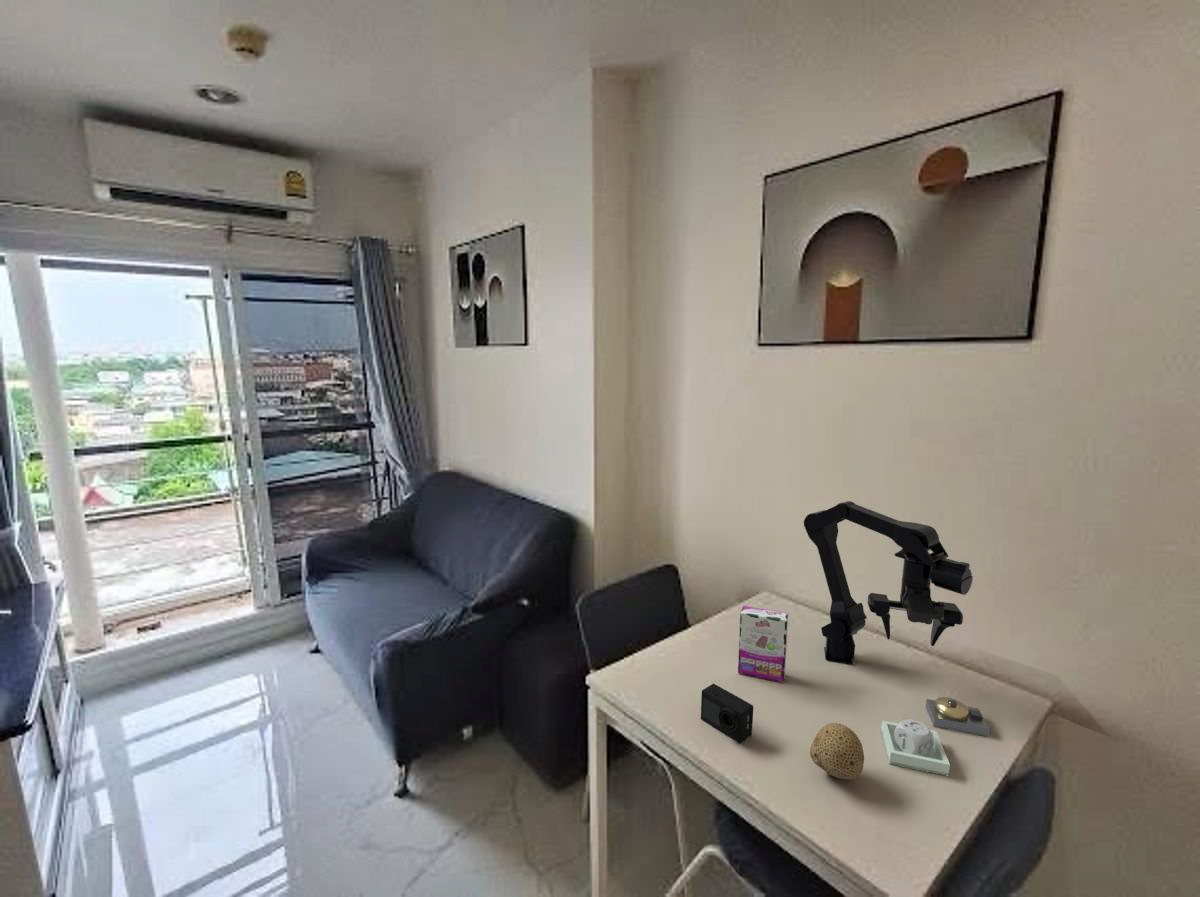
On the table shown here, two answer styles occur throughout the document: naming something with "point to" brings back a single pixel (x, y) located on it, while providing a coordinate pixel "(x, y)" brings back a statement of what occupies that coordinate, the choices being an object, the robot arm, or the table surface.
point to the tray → (930, 763)
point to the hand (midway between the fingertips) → (909, 641)
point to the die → (914, 738)
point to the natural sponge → (838, 751)
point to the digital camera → (727, 713)
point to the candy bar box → (763, 643)
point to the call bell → (956, 716)
